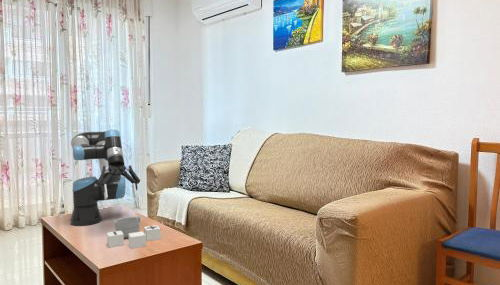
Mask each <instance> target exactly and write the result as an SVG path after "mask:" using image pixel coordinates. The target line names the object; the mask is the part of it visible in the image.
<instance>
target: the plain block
mask: <svg viewBox="0 0 500 285" xmlns="http://www.w3.org/2000/svg"><path fill="white" fill-rule="evenodd" d="M128 237H129V238H128V246H129V247H130V249H131V250H133V249H136V248H137V249H138V248H143V247H146V246H147V243H146V242H147V240H146V235H145V234H144V230H143V231H138V232H135V233H128Z"/></svg>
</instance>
